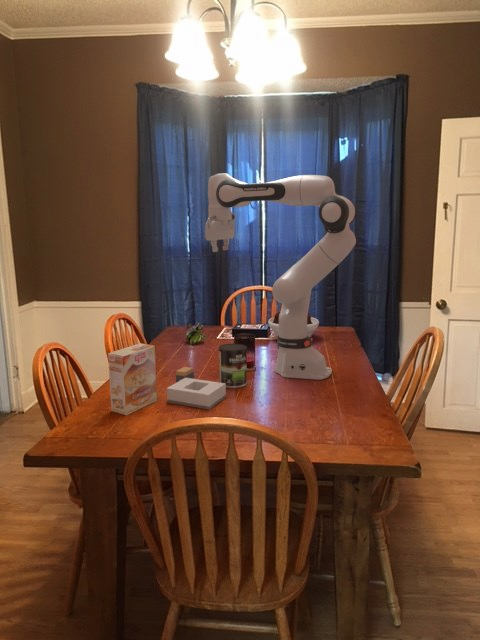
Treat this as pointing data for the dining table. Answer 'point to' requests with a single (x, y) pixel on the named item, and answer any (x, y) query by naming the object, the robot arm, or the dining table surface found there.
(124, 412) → the coffeecake box
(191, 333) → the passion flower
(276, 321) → the white round bowl
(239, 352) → the coffee can
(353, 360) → the dining table surface
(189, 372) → the plug
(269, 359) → the dining table surface
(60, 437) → the dining table surface
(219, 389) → the socket
